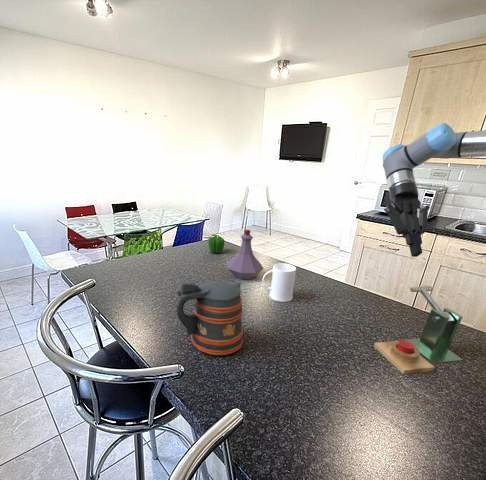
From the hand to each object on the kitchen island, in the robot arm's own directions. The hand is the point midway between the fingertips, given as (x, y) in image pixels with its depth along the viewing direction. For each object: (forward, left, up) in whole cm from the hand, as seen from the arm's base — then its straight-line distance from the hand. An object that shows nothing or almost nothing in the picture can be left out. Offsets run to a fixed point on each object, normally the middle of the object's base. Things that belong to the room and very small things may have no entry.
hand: (416, 254), depth 85 cm
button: (+12, +17, -20) cm, 29 cm away
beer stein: (+61, +3, -24) cm, 66 cm away
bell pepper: (+46, -74, -24) cm, 90 cm away
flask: (+39, -43, -24) cm, 63 cm away
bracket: (+1, +15, -23) cm, 28 cm away
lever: (+1, +10, -11) cm, 16 cm away
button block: (+12, +17, -23) cm, 31 cm away
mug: (+32, -22, -24) cm, 45 cm away
